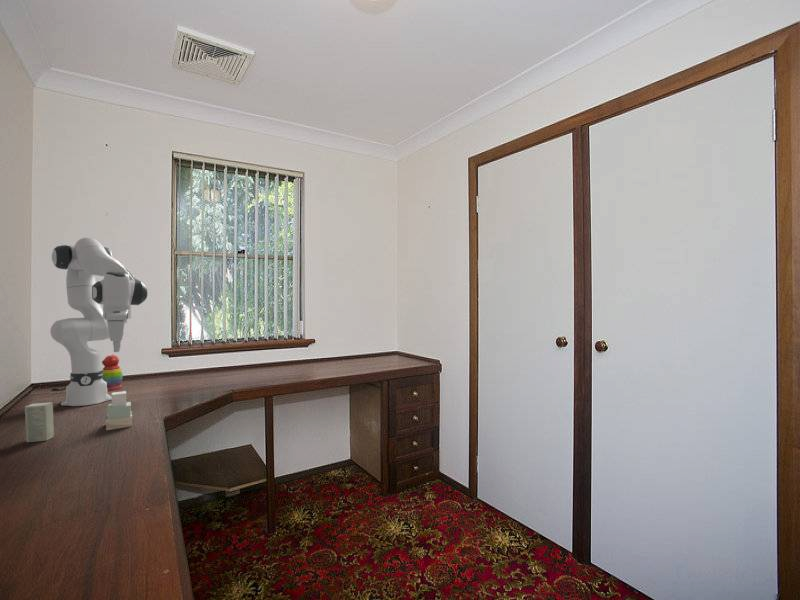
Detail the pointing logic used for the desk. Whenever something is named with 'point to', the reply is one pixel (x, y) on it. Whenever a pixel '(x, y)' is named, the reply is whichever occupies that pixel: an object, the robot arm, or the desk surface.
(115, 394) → the cream block
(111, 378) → the stacking bear
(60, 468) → the desk surface
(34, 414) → the skincare box
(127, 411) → the green tower middle block
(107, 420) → the tower base
